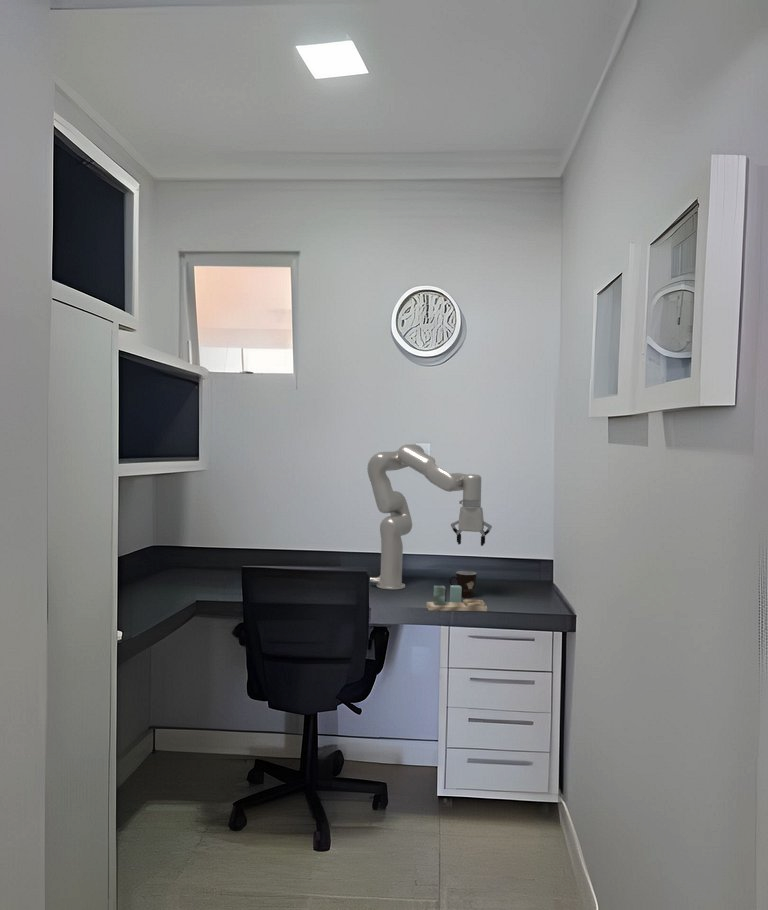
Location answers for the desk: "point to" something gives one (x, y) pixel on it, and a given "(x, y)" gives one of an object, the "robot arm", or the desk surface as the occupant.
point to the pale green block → (455, 593)
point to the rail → (441, 603)
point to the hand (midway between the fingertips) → (470, 544)
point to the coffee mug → (466, 582)
